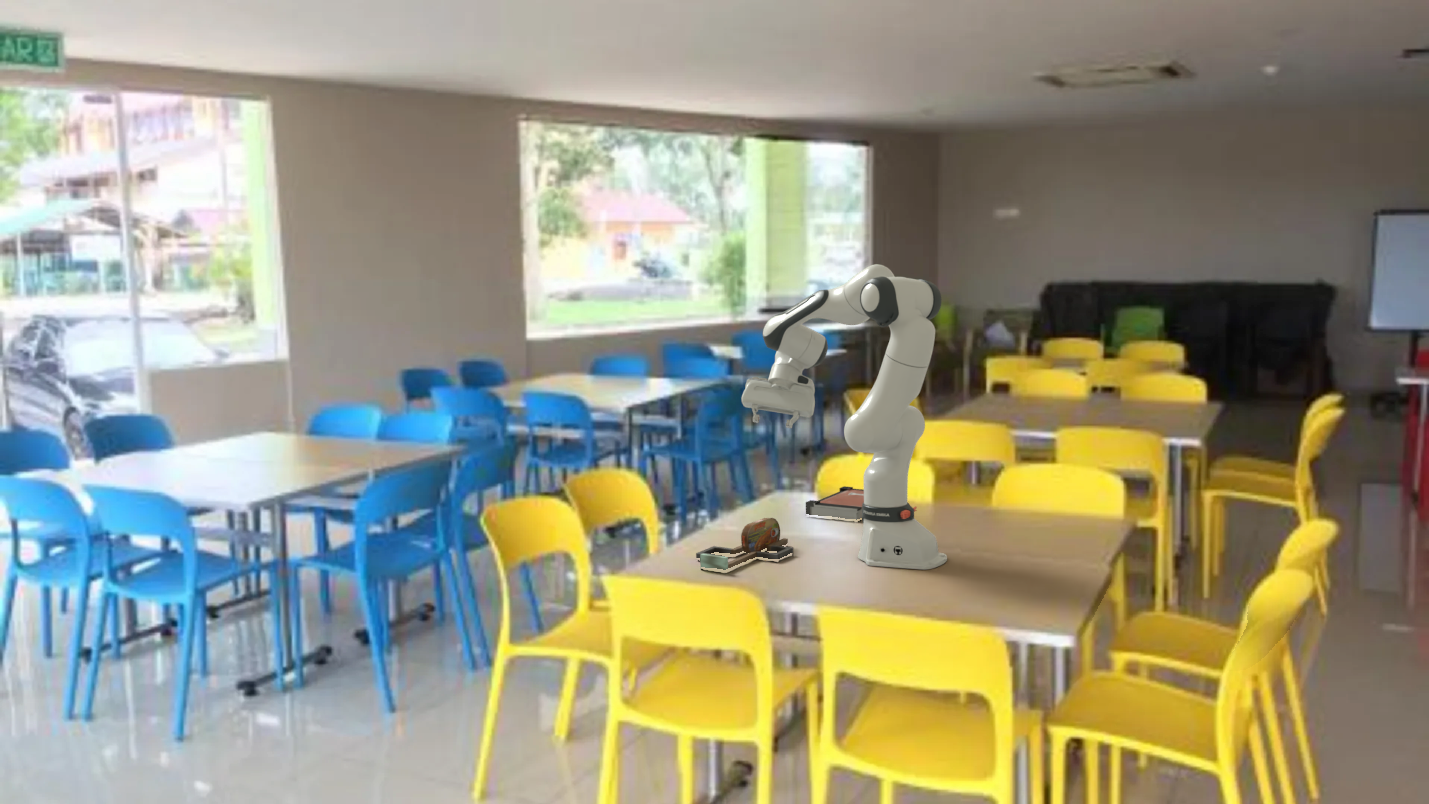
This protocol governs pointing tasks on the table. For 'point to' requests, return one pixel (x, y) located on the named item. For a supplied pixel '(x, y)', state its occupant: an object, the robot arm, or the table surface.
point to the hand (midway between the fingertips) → (771, 424)
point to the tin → (760, 534)
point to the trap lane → (722, 561)
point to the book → (839, 504)
